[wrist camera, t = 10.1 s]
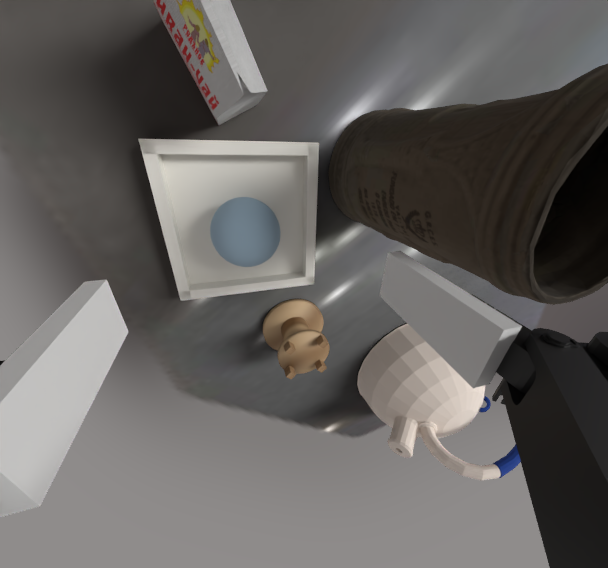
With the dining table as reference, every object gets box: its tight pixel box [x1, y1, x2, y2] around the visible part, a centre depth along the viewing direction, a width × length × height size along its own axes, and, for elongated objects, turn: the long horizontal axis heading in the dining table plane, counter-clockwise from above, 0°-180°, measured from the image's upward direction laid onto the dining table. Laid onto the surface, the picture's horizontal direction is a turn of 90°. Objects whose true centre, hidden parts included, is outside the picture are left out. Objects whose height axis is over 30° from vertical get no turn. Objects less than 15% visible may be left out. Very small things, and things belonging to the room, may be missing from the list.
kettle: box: [357, 323, 521, 480], centre depth 37 cm, size 20×21×18 cm
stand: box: [263, 299, 329, 379], centre depth 30 cm, size 8×8×7 cm
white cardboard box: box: [153, 0, 267, 125], centre depth 15 cm, size 4×7×10 cm, turn 25°
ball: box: [210, 197, 280, 267], centre depth 22 cm, size 6×6×6 cm
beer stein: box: [329, 64, 608, 305], centre depth 18 cm, size 15×11×20 cm
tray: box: [138, 139, 319, 301], centre depth 24 cm, size 14×14×2 cm
